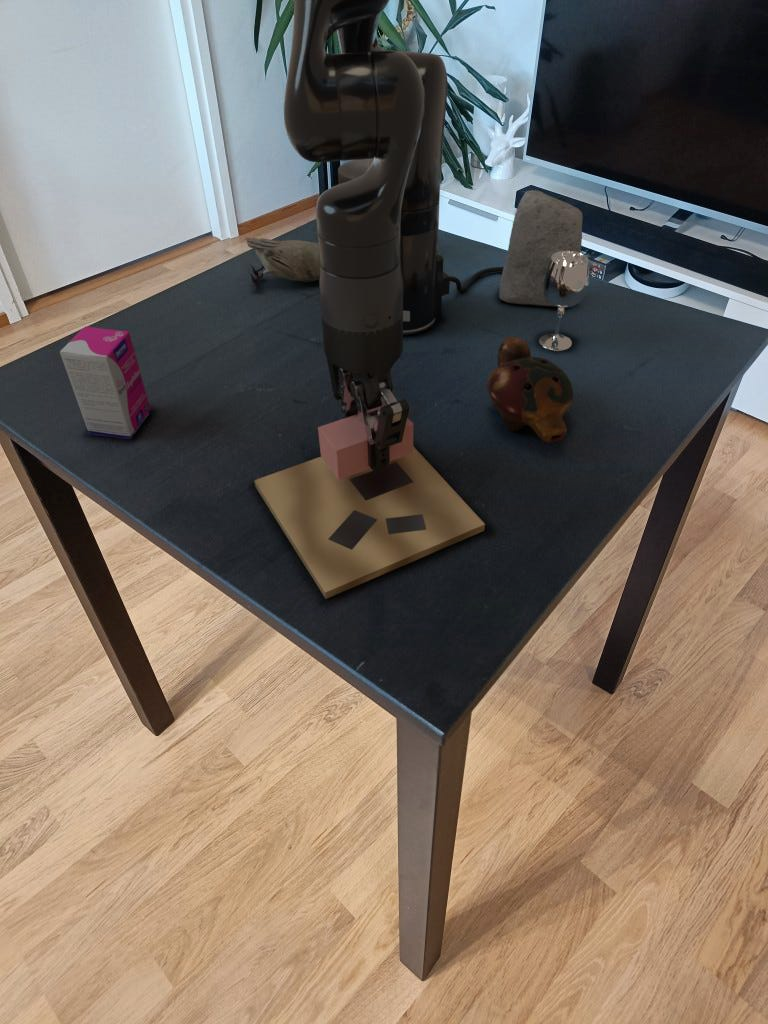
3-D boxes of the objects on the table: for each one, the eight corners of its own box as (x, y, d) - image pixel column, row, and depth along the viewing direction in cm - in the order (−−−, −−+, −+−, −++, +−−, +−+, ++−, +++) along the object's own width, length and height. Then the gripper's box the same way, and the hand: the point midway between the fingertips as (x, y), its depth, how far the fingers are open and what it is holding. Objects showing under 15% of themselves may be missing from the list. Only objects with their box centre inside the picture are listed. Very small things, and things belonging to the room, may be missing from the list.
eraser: (393, 431, 80) (393, 401, 77) (413, 453, 77) (413, 423, 74) (320, 456, 77) (317, 426, 74) (338, 480, 74) (336, 450, 71)
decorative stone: (575, 295, 107) (593, 193, 97) (569, 314, 103) (588, 210, 93) (504, 285, 110) (514, 185, 100) (495, 303, 106) (505, 201, 96)
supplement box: (133, 440, 84) (105, 357, 76) (87, 434, 85) (55, 351, 77) (154, 411, 88) (129, 329, 80) (110, 406, 89) (81, 324, 81)
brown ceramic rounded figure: (527, 376, 92) (540, 322, 86) (590, 451, 83) (610, 397, 77) (460, 389, 90) (469, 335, 84) (517, 469, 80) (532, 414, 74)
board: (397, 435, 84) (397, 428, 83) (484, 530, 73) (485, 524, 72) (255, 487, 78) (254, 480, 77) (325, 599, 67) (324, 592, 66)
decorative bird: (354, 287, 110) (351, 240, 105) (250, 293, 110) (242, 246, 104) (352, 272, 114) (350, 225, 109) (252, 277, 113) (244, 230, 108)
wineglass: (529, 348, 97) (541, 265, 89) (539, 328, 101) (552, 246, 92) (572, 356, 95) (588, 272, 87) (580, 335, 99) (596, 252, 91)
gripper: (438, 332, 62) (431, 479, 74) (362, 268, 71) (368, 408, 83) (361, 355, 59) (367, 504, 71) (293, 286, 68) (309, 428, 80)
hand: (367, 452), depth 77 cm, fingers closed on eraser, 4 cm apart
